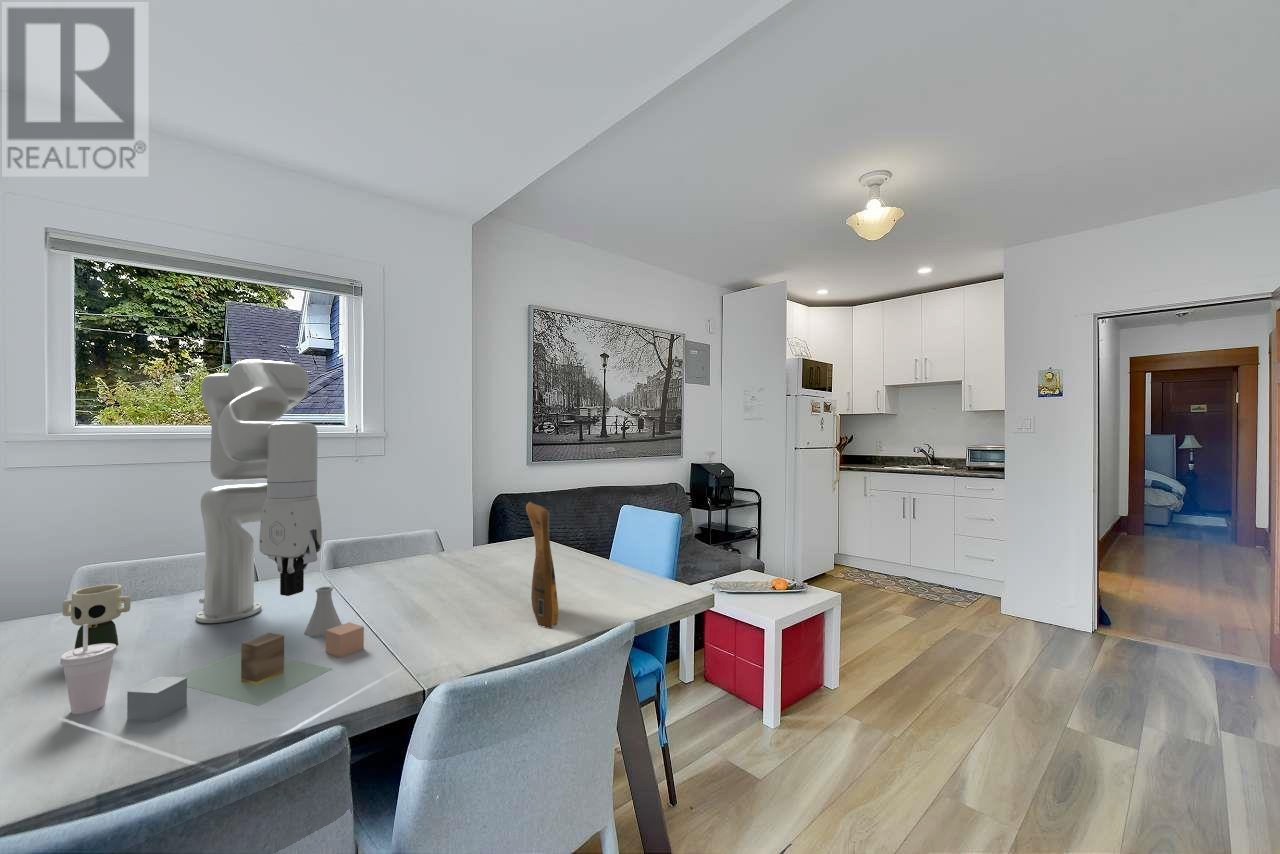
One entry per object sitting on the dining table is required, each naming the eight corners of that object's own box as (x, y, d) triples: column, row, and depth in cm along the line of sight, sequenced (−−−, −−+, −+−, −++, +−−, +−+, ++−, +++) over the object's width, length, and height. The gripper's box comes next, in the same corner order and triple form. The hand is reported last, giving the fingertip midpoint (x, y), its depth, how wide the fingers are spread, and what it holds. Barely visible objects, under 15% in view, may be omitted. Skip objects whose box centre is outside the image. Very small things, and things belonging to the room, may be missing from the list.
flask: (325, 640, 114) (325, 594, 114) (296, 637, 115) (297, 592, 115) (349, 628, 121) (350, 584, 121) (322, 625, 122) (323, 582, 122)
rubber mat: (165, 682, 95) (165, 680, 95) (245, 651, 108) (245, 649, 108) (258, 707, 87) (258, 705, 87) (333, 670, 100) (333, 668, 100)
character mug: (48, 663, 101) (48, 596, 101) (75, 648, 108) (76, 585, 108) (118, 657, 104) (118, 592, 104) (140, 643, 111) (141, 582, 111)
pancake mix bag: (533, 633, 119) (534, 510, 119) (524, 605, 137) (525, 499, 137) (562, 630, 121) (564, 509, 121) (549, 603, 139) (551, 498, 139)
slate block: (127, 723, 82) (127, 691, 82) (158, 706, 87) (158, 676, 87) (156, 725, 82) (157, 693, 82) (186, 707, 87) (187, 677, 87)
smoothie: (86, 700, 88) (87, 617, 88) (127, 699, 89) (127, 616, 89) (46, 721, 82) (47, 632, 82) (90, 720, 83) (91, 631, 83)
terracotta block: (325, 654, 107) (325, 630, 107) (349, 645, 112) (349, 622, 112) (340, 660, 105) (340, 635, 105) (363, 650, 109) (363, 626, 109)
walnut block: (241, 681, 95) (241, 642, 95) (268, 669, 99) (269, 632, 99) (256, 685, 93) (257, 646, 93) (283, 673, 98) (284, 635, 98)
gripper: (241, 491, 93) (241, 595, 93) (303, 495, 88) (303, 604, 88) (282, 487, 100) (282, 583, 100) (342, 490, 95) (341, 591, 95)
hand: (292, 593), depth 94 cm, fingers closed
